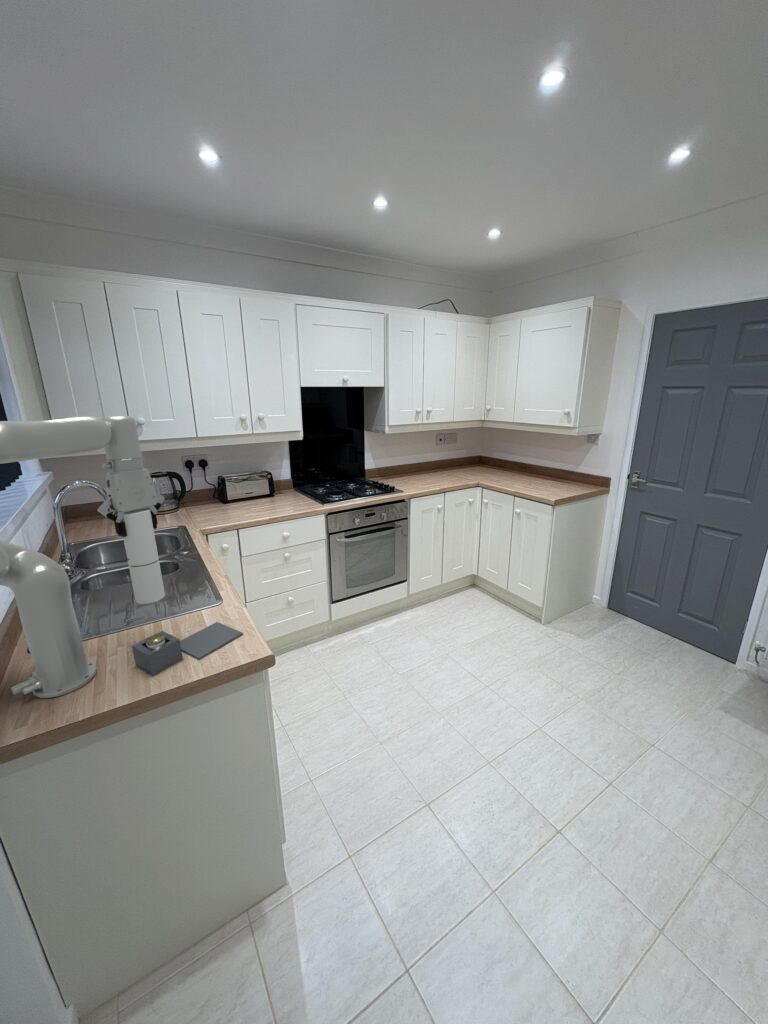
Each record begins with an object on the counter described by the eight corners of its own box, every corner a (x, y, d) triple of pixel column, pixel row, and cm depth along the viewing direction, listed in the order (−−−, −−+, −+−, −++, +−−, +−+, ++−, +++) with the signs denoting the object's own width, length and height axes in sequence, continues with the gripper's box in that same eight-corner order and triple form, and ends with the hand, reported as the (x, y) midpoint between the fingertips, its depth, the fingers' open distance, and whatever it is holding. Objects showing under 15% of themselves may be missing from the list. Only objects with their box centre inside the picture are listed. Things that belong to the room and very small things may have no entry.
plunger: (155, 664, 102) (151, 645, 100) (146, 658, 104) (142, 640, 102) (171, 655, 105) (167, 636, 104) (162, 650, 107) (158, 632, 106)
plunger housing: (152, 676, 100) (148, 655, 98) (135, 666, 104) (131, 645, 102) (183, 659, 106) (179, 639, 104) (166, 650, 110) (162, 630, 109)
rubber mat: (199, 660, 106) (198, 658, 105) (173, 646, 112) (172, 644, 112) (243, 634, 117) (242, 632, 117) (217, 623, 123) (217, 621, 123)
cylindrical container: (158, 589, 117) (143, 506, 110) (169, 596, 112) (154, 510, 106) (131, 598, 111) (114, 511, 105) (141, 606, 107) (124, 515, 101)
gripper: (94, 471, 93) (109, 543, 98) (167, 461, 107) (177, 525, 112) (80, 469, 97) (95, 538, 102) (152, 460, 111) (162, 521, 116)
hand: (138, 531), depth 107 cm, fingers closed on cylindrical container, 7 cm apart
